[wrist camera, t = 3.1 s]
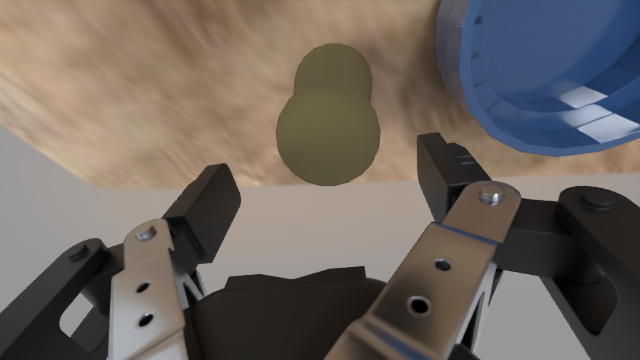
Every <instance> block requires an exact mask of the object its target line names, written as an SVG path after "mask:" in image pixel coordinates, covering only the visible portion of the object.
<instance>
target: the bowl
mask: <svg viewBox="0 0 640 360" xmlns="http://www.w3.org/2000/svg"><path fill="white" fill-rule="evenodd" d="M435 59H436V62H437V66H438V69H439V72H440V75H441V78H442V81H443V84H444V87H445V89H446V90H447V92H448V93H449V94H450V95H451V96H452V98H453V99H454V100H455V101H456V102H457V104H458V105H459V106H460V107H461V108H462V109H463V110H464V111H465V112H466V113H467V114H468V115H469V116H470V117H471V118H472V119H473V120H474V121H475V122H476V123H477V124H478V125H479V126H480V127H481V128H482V129H483V130H484V131H485V132H486V133H487V134H488V135H489V136H491V137H492V138H494V139H496V140H498V141H500V142H502V143H504V144H506V145H508V146H510V147H512V148H514V149H516V150H518V151H520V152H524V153H532V154H539V155H546V156H554V157H561V156H569V155H577V154H584V153H592V152H600V151H603V150H606V149H609V148H612V147H615V146H618V145H621V144H624V143H627V142H630V141H632V140H635V139H638V138H640V0H441V3H440V7H439V10H438V13H437V17H436V30H435Z"/></svg>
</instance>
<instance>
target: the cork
mask: <svg viewBox="0 0 640 360" xmlns="http://www.w3.org/2000/svg"><path fill="white" fill-rule="evenodd" d="M371 91H372V76H371V72H370V68H369V66H368V64H367V63H366V61H365V59H364V58H363V56H362V55H360V54H359V53H358V52H357V51H355V50H354V49H353V48H351V47H348V46H345V45H342V44H325V45H323V46H320V47H317V48H315V49H313V50H312V51H311V52H310V53H309V54H307V55H306V56H305V57H304V58H303V60H302V62H301V63H300V65H299V67H298V69H297V73H296V77H295V86H294V96H292V97H291V98H290V99H289V101H288V102H287V104H286V105H285V107H284V109H283V110H282V112H281V113H280V115H279V118H278V123H277V127H276V139H277V147H278V152H279V154H280V156H281V158H282V160H283V162H284V164H285V165H286V166H287V167H288V168H289V169H290V170H291V171H292V172H293V173H294V174H295V175H296V176H298V177H300V178H301V179H303V180H305V181H306V182H308V183H312V184H315V185H319V186H337V185H340V184H344V183H348V182H350V181H351V180H353V179H355V178H357V177H358V176H360V175H362V174H363V173H364V172H365V171H366V169H367V168H368V167H369V166H370V165H371V164H372V162H373V160H374V158H375V156H376V153H377V151H378V148H379V142H380V132H381V131H380V127H379V123H378V119H377V115H376V112H375V110H374V109H373V107H372V106H371V104H370V98H371Z"/></svg>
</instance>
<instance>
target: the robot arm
mask: <svg viewBox="0 0 640 360" xmlns="http://www.w3.org/2000/svg"><path fill="white" fill-rule="evenodd" d="M417 173H418V180H419V184H420V187H421V189H422V191H423V194H424V196H425V198H426V201H427V203H428V206H429V208H430V210H431V213H432V215H433V217H434V220H435V222H434V221H433V222H431V223H430V224H429V225H428V226H427V228H426V229H425V231H424V232H423V234H422V235H421V236H420V238H419V239H418V240H417V242H416V243H415V245H414V246H413V248H412V249H411V250H410V252H409V253H408V255H407V256H406V257H405V259H404V260H403V262H402V263H401V265H400V266H399V267H398V269H397V270H396V272H395V273H394V275H393V276H392V277H391V279H390V280H389V282H388V283H386V282H383V281H380V280H377V279H373V278H367V277H366V273H365V267H364V266H359V267H347V268H334V269H327V270H323V271H320V272H317V273H313V274H310V275H307V276H303V277H300V278H296V279H286V278H280V277H274V276H268V275H262V274H256V275H243V276H230V277H229V278H228V280H227V283H226V285H225V288H223V289H221V290H218V291H216V292H213V293H211V294H209V295H207V294H206V291H205V288H204V285H203V282H202V279H201V276H200V274H199V272H198V271H197V269H196V267H197V265H198V264H205V263H212V262H213V260H214V258H215V255H216V254H217V252H218V250H219V247H220V246H221V244H222V241H223V240H224V237H225V235H226V233H227V231H228V229H229V227H230V225H231V223H232V221H233V219H234V217H235V215H236V213H237V211H238V208H239V207H240V204H241V196H240V192H239V190H238V187H237V185H236V183H235V180H234V178H233V176H232V173H231V171H230V169H229V167H228V165H227V164H225V163H222V164H216V165H209V166H207V167H206V168H205V169H204V170H203V171H202V173H201V174H200V175H199V176H198V178H197V179H196V180H195V181H193V182H192V183H191V184H189V185H188V186H187V187H186V189H185V190H184V191H183V192H182V194H181V195H180V196H179V197H178V199H177V201H175V202H174V203H173V204H172V206H171V207H170V208H169V209H168V211H167V212H166V213H165V214H164V215H163V217H162V218H161V219H153V220H150V221H147V222H145V223H143V224H141V225H139V226H137V227H136V228H134V229H133V230H132V231H131V232H130V233H129V234H128V235H127V236H126V238H125V240H124V243H122V244H119V245H116V246H112V247H110V248H107V247H106V246H105V244H104V243H103V242H102V241H101V240H100V239H98V238H92V239H88V240H85V241H82V242H80V243H78V244H76V245H74V246H73V247H71V248H69V249H68V250H66V251H65V252H64V253H63V254H61V255H60V256H59V257H58V258H57V259H56V260H55V261H54V262H53V263H52V264H51V265H50V266H49V267H48V268H47V269H46V270H45V271H44V272H43V273H42V274H40V275H39V276H38V277H37V278H36V279H35V280H34V281H33V282H32V283H31V284H30V285H29V286H28V287H27V288H26V289H25V290H24V291H23V292H22V293H21V294H20V295H19V296H18V297H17V298H16V299H15V300H13V301H12V302H11V303H10V304H9V305H8V306H7V307H6V308H5V309H4V310H3V311H2V312H1V313H0V360H106V359H107V357H108V360H480V359H479V358H478V357H477V356H476V355H474V354H475V352H476V349H477V346H478V343H479V341H480V337H481V334H482V331H483V327H484V324H485V321H486V318H487V315H488V313H489V310H490V307H491V305H492V302H493V300H494V297H495V294H496V292H497V289H498V287H499V284H500V282H501V279H502V276H503V274H504V271H505V270H508V271H513V272H518V273H524V274H530V275H536V276H539V277H540V279H541V281H542V282H543V284H544V285H545V287H546V289H547V290H548V292H549V293H550V295H551V297H552V298H553V300H554V301H555V303H556V305H557V306H558V308H559V309H560V311H561V312H562V314H563V316H564V317H565V319H566V320H567V322H568V323H569V325H570V327H571V329H572V330H573V331H574V333H575V335H576V337H577V338H578V340H579V341H580V343H581V344H582V346H583V348H584V349H585V351H586V352H587V354H588V356H589V357H590V359H591V360H640V207H638V206H637V205H636V204H634V203H633V202H632V201H631V200H629V199H628V198H626V197H625V196H623V195H621V194H618V193H616V192H613V191H610V190H607V189H603V188H598V187H591V186H575V187H570V188H567V189H565V190H563V191H562V192H561V193H560V196H559V199H558V202H557V201H556V202H555V201H543V200H531V199H525V198H521V195H520V193H519V192H518V190H516V189H515V188H514V187H512V186H510V185H508V184H505V183H502V182H498V181H492V180H491V178H490V177H489V176H488V175H487V174H486V172H485V171H484V170H483V169H482V167H481V166H480V165H479V164H478V163H476V160H475V159H474V158H473V157H471V154H470V153H469V152H468V151H467V149H466V148H464V147H462V146H460V145H458V144H456V143H448V144H447V143H446V142H445V140H444V139H443V138H442V136H441V135H440V133H438V132H437V133H430V134H423V135H418V137H417ZM79 293H81V294H82V295H83V296H84V297H85V298H86V299H87V300H88V301H90V303H92V305H93V306H94V307H93V308H92V309H91V311H90V312H89V313H88V314H87V316H86V317H85V318H84V320H83V321H82V322H81V324H80V325H79V326H78V328H77V329H76V330H75V332H74V333H73V334H72V335H71V337H68V336H67V335H66V334H65V333H64V332H63V331H62V330H61V329H60V325H59V321H60V318H61V316H62V314H63V312H64V311H65V310H66V308H67V307H68V306H69V305H70V304H71V303H72V302H73V300H74V299H75V298H76V297H77V296H78V294H79Z"/></svg>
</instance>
